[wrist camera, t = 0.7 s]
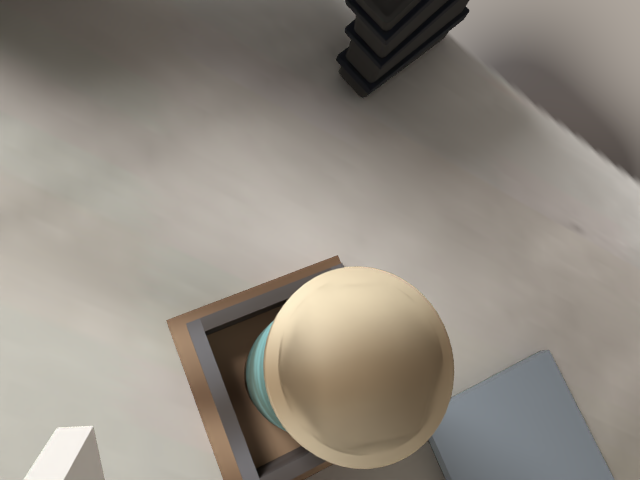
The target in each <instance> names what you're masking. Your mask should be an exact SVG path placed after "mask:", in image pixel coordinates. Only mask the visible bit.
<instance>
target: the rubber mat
mask: <svg viewBox="0 0 640 480" xmlns="http://www.w3.org/2000/svg"><path fill="white" fill-rule="evenodd" d="M429 443H430V445H431V447H432V449H433V452H434V454H435V456H436V459H437V461H438V463H439V465H440V468H441V470H442V472H443V474H444V477H445V479H446V480H614V478H613V476H612V474H611V472H610V470H609V468H608V466H607V464H606V462H605V460H604V458H603V456H602V454H601V452H600V450H599V448H598V446H597V444H596V442H595V440H594V438H593V436H592V434H591V432H590V430H589V428H588V426H587V424H586V422H585V420H584V418H583V416H582V414H581V412H580V410H579V408H578V406H577V404H576V402H575V400H574V398H573V396H572V394H571V392H570V390H569V388H568V386H567V384H566V382H565V380H564V379H563V377H562V375H561V373H560V371H559V369H558V367H557V365H556V363H555V361H554V359H553V357H552V355H551V353H550V351H549V350H545V351H539V352H537V353H536V354H534V355H532V356H530V357H528V358H526V359H524V360H522V361H520V362H518V363H516V364H515V365H513V366H511V367H509V368H507V369H505V370H503V371H501V372H499V373H497V374H496V375H494V376H492V377H490V378H488V379H486V380H484V381H482V382H480V383H478V384H476V385H475V386H473V387H471V388H469V389H467V390H465V391H463V392H461V393H459V394H457V395H456V396H454V397H452V398H451V399H450V402H449V405H448V408H447V411H446V413H445V415H444V417H443V419H442V421H441V423H440V425H439V426H438V428H437V429H436V431H435V432H434V434H433V435H432V436H431V437H430V438H429Z"/></svg>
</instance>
